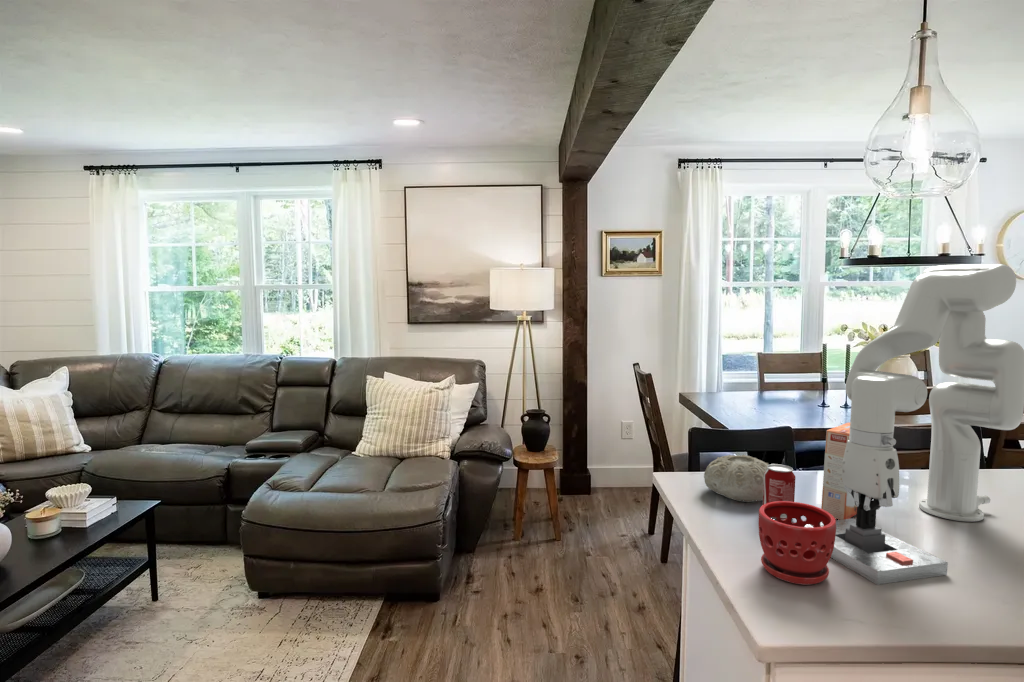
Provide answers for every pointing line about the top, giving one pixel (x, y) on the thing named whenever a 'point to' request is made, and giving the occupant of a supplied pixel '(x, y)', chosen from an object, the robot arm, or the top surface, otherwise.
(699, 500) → the top surface
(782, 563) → the plant pot
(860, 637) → the top surface
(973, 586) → the top surface
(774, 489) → the soda can
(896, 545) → the socket
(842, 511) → the cracker box
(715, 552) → the top surface
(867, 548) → the plug
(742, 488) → the decorative shell
